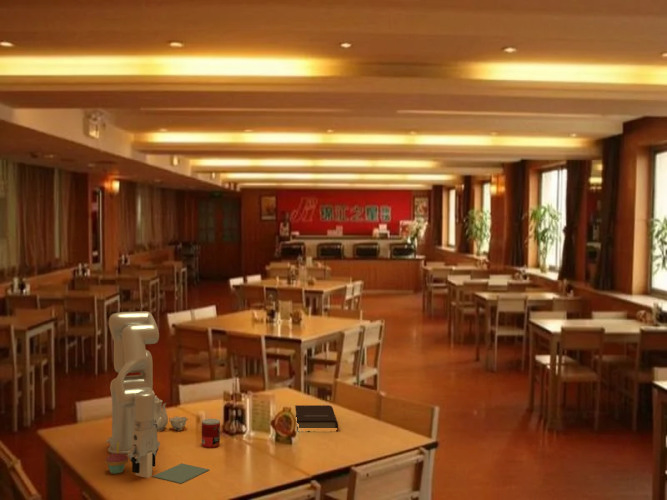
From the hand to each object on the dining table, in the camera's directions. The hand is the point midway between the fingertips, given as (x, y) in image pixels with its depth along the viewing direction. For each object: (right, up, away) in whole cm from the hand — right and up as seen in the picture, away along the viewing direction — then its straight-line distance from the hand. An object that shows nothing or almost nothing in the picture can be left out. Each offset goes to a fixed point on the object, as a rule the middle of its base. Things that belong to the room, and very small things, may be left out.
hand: (143, 468), depth 272 cm
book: (+64, -2, +77) cm, 100 cm away
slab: (0, -3, 0) cm, 3 cm away
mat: (+14, -3, +3) cm, 14 cm away
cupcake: (-12, -2, +4) cm, 12 cm away
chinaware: (-9, -1, +64) cm, 65 cm away
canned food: (+19, -2, +39) cm, 43 cm away
